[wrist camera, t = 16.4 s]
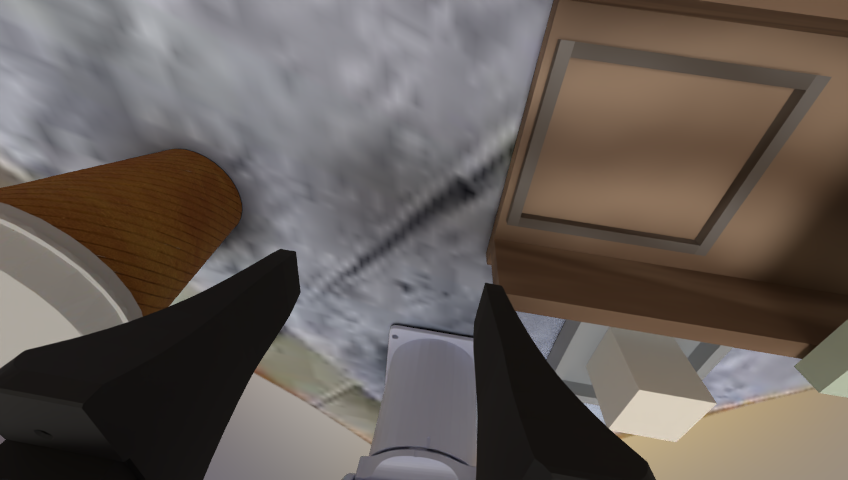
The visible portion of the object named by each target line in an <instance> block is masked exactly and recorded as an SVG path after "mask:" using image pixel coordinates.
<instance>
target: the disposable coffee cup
mask: <svg viewBox="0 0 848 480" xmlns="http://www.w3.org/2000/svg"><path fill="white" fill-rule="evenodd" d="M241 213H242V203H241V200H240V197H239V193H238V191H237V189H236V187H235V185H234V184H233V182H232V181H231V179H230V178H229V177H228V176H227V175H226V173H225V172H224V171H223V170H222V169H221V168H220V167H218V166H217V165H216V164H215V163H214V162H212V161H210V160H209V159H207V158H206V157H204V156H202V155H200V154H198V153H195V152H192V151H189V150H184V149H171V150H165V151H161V152H157V153H153V154H148V155H144V156H139V157H135V158H131V159H126V160H122V161H118V162H114V163H109V164H105V165H100V166H96V167H92V168H87V169H82V170H78V171H74V172H69V173H65V174H61V175H56V176H51V177H48V178H44V179H39V180H36V181H31V182H26V183H22V184H18V185H13V186H8V187H3V188H0V368H1V367H3V366H4V365H5V364H7V363H8V362H10V361H11V360H12V359H14V358H15V357H16V356H18V355H19V354H20V353H22V352H23V351H25V350H28V349H32V348H37V347H41V346H45V345H49V344H53V343H57V342H61V341H65V340H69V339H73V338H77V337H80V336H84V335H87V334H91V333H94V332H98V331H101V330H104V329H108V328H111V327H114V326H117V325H120V324H123V323H126V322H129V321H132V320H135V319H138V318H140V317H143V316H146V315H149V314H151V313H154V312H157V311H159V310H162V309H165V308H167V307H168V306H170V304H171V303H172V302H173V301H174V299H175V297H177V296H178V295H179V293H180V292H181V291H182V290H183V289H184V287H185V286H186V285H187V284H188V283H189V281H190V280H191V279H192V278H193V277H194V275H195V274H196V273H197V272H198V271H199V269H200V268H201V267H202V266H203V265H204V264H205V262H206V261H207V260H208V259H209V258H210V256H211V255H212V254H213V253H214V251H215V250H216V249H217V247H219V246H220V244H221V243H222V241H224V240H225V238H226V237H227V236H228V235H229V234H230V232H231V230H233V229H234V228H235V227H236V226H237V224H238V223H239V221H240V219H241Z"/></svg>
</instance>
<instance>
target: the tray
mask: <svg viewBox="0 0 848 480" xmlns="http://www.w3.org/2000/svg"><path fill="white" fill-rule="evenodd" d="M608 329H609V326H603V325H597V324H591V323H585V322H579V321H573V320H567V319H566V321H565V323H564V325H563V327H562V329H561V331H560V333H559V335H558V337H557V339H556V341H555V343H554V346H553V348H552V350H551V352H550V354H549V356H548V358H547V362H548V363H549V364H550V366H551V367H552V368H553V370H554V371H555V372H556V373H557V375H558V376H559V377H560V378H561V379H562V381H563V382H564V383H565V384H566V385H567V386H568V387H569V389H570V390H571V391H572V392H573V393H574V394H575V395H576V396H577V397H578V398H579V399H580V400H581V402H582V403H588V404H594V405H599V403H598V400H597V397H596V394H595V391H594V388H593V385H592V382H591V380H590V377H589V374H588V371H587V368H586V365H587V363H588V362H589V360H590V358H591V357H592V355H593V353H594V352H595V350H596V348H597V347H598V345H599V343H600V342H601V340H602V338H603V337H604V335H605V334H606V332H607V330H608ZM674 339H675V341H676V342H677V344H678V345H679V347H680V348H681V350H682V351H683V353H684V354H685V356H686V357H687V359H688V360H689V362H690V363H691V365H692V366H693V368H694V370H695V371H696V373H697V374H698V376H699V377H700V379H701V380H703V379H704V378H705V377H706V376H707V375H708V374H709V373H710V371H711V370H712V369H713V368H714V367H715V366H716V365H717V364H718V363H719V362H720V361H721V360H722V359H723V358H724V356H725V355H726V354H727V353H728V352H729V351H730V350H731V349H732V348H733V347H728V346H723V345H717V344H711V343H705V342H699V341H693V340H687V339H681V338H675V337H674Z"/></svg>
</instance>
